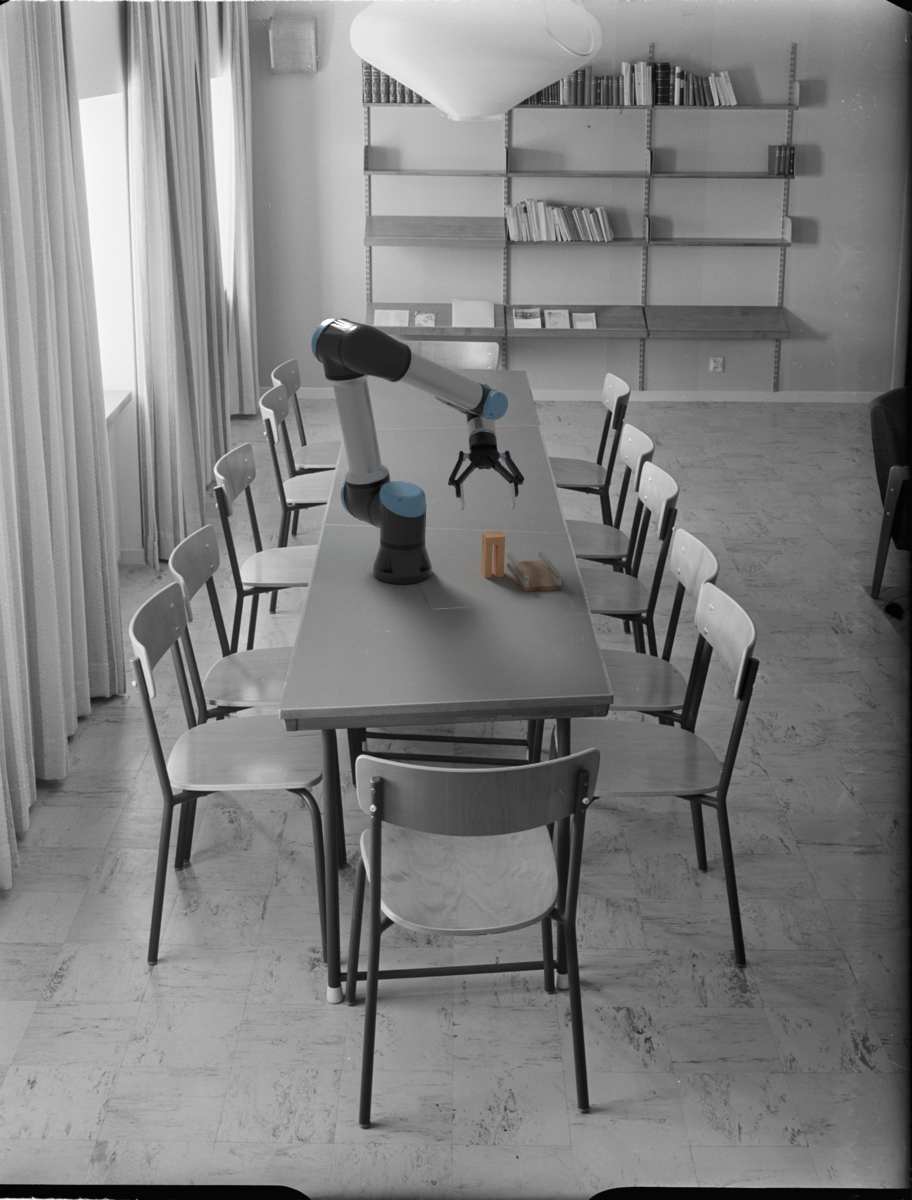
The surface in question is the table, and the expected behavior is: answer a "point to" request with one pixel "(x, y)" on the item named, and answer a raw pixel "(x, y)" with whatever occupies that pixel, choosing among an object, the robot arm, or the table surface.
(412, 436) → the table surface
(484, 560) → the clip
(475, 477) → the table surface
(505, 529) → the table surface
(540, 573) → the rail
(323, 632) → the table surface
